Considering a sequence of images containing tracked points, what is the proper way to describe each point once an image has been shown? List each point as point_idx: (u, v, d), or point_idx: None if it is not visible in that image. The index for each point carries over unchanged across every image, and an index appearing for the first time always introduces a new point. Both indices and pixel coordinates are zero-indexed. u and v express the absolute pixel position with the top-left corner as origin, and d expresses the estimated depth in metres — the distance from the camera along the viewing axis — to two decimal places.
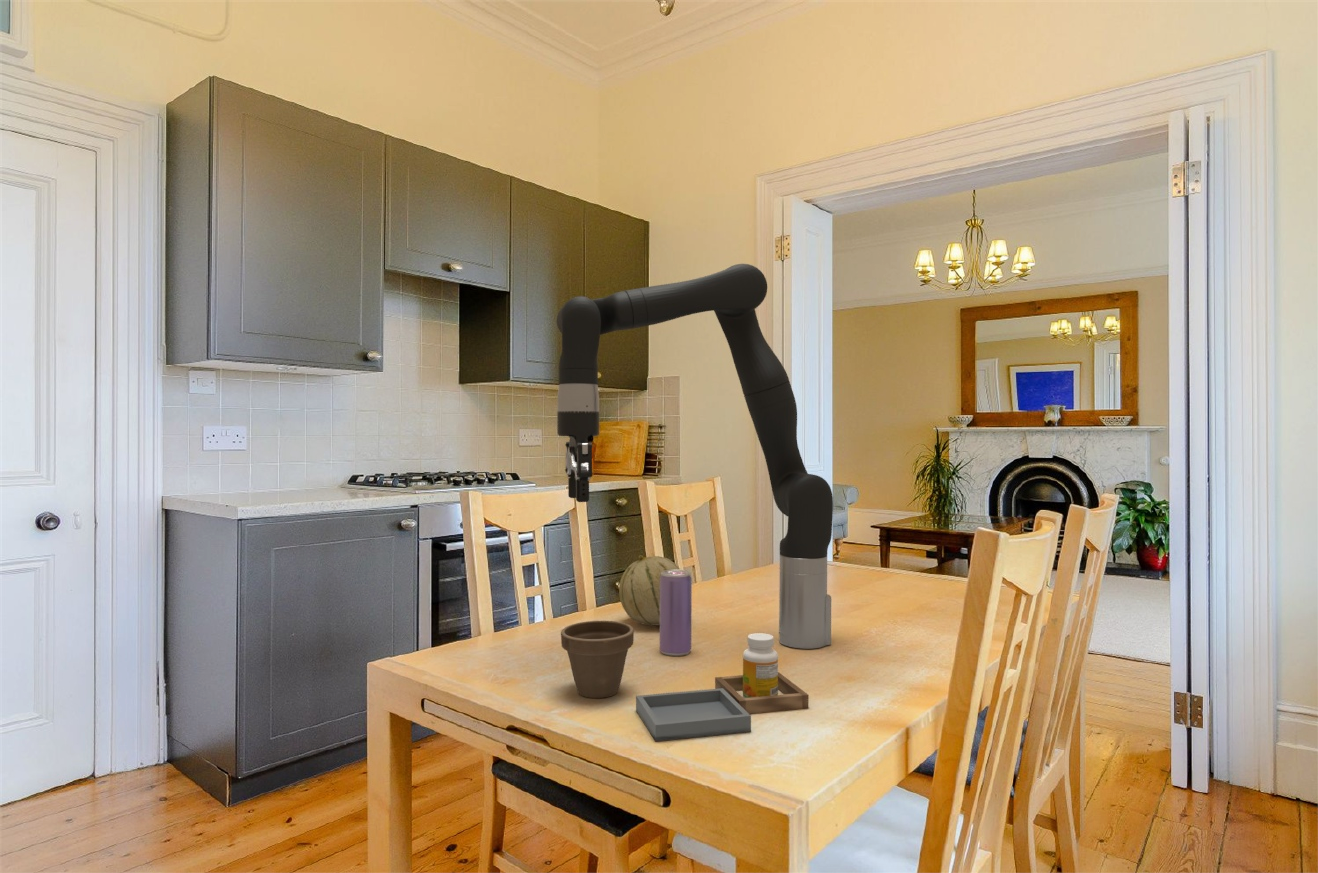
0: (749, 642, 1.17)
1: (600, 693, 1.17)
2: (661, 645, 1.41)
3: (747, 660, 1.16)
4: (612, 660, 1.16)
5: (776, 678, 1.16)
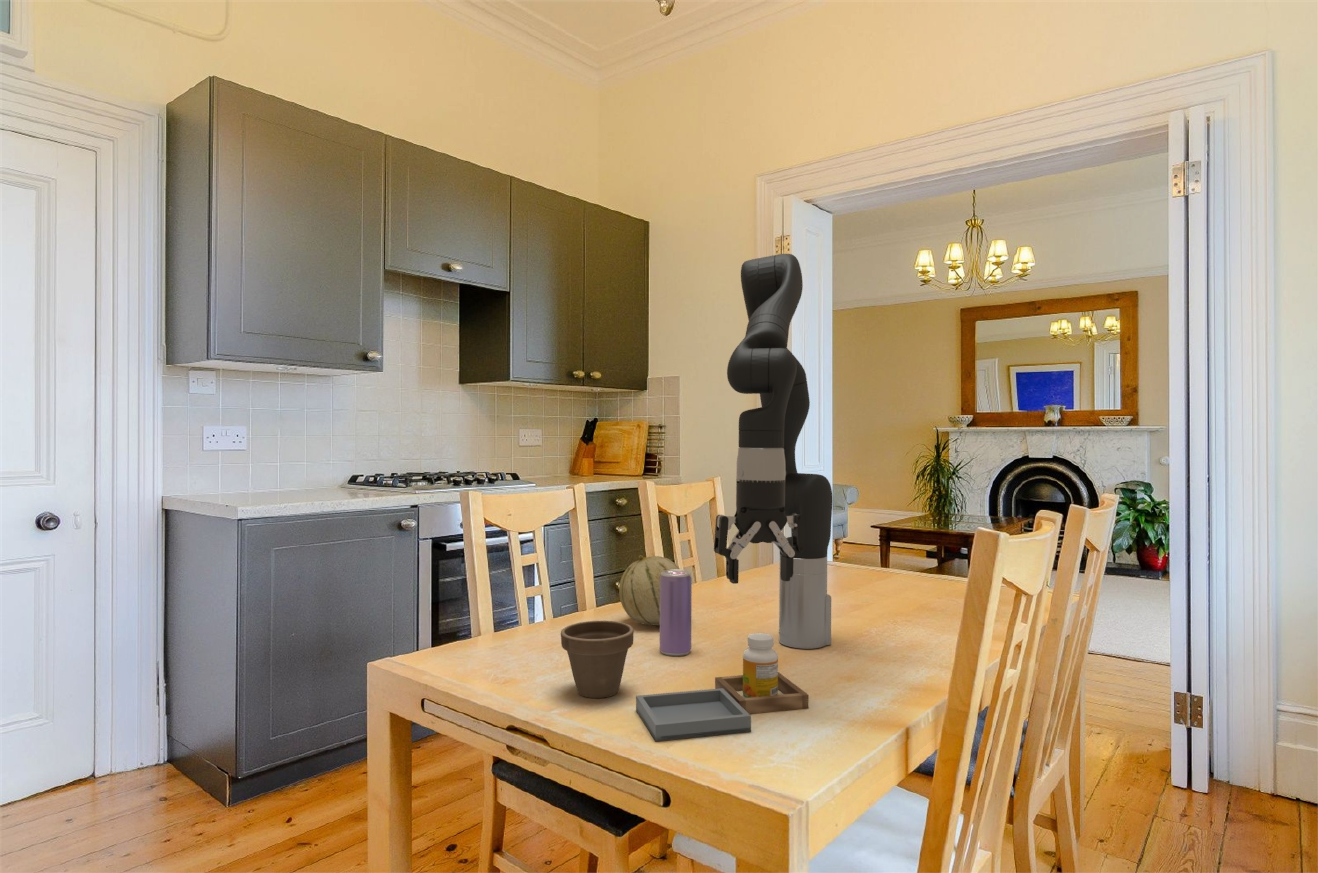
0: (749, 642, 1.17)
1: (600, 693, 1.17)
2: (661, 645, 1.41)
3: (747, 660, 1.16)
4: (611, 660, 1.16)
5: (776, 678, 1.16)
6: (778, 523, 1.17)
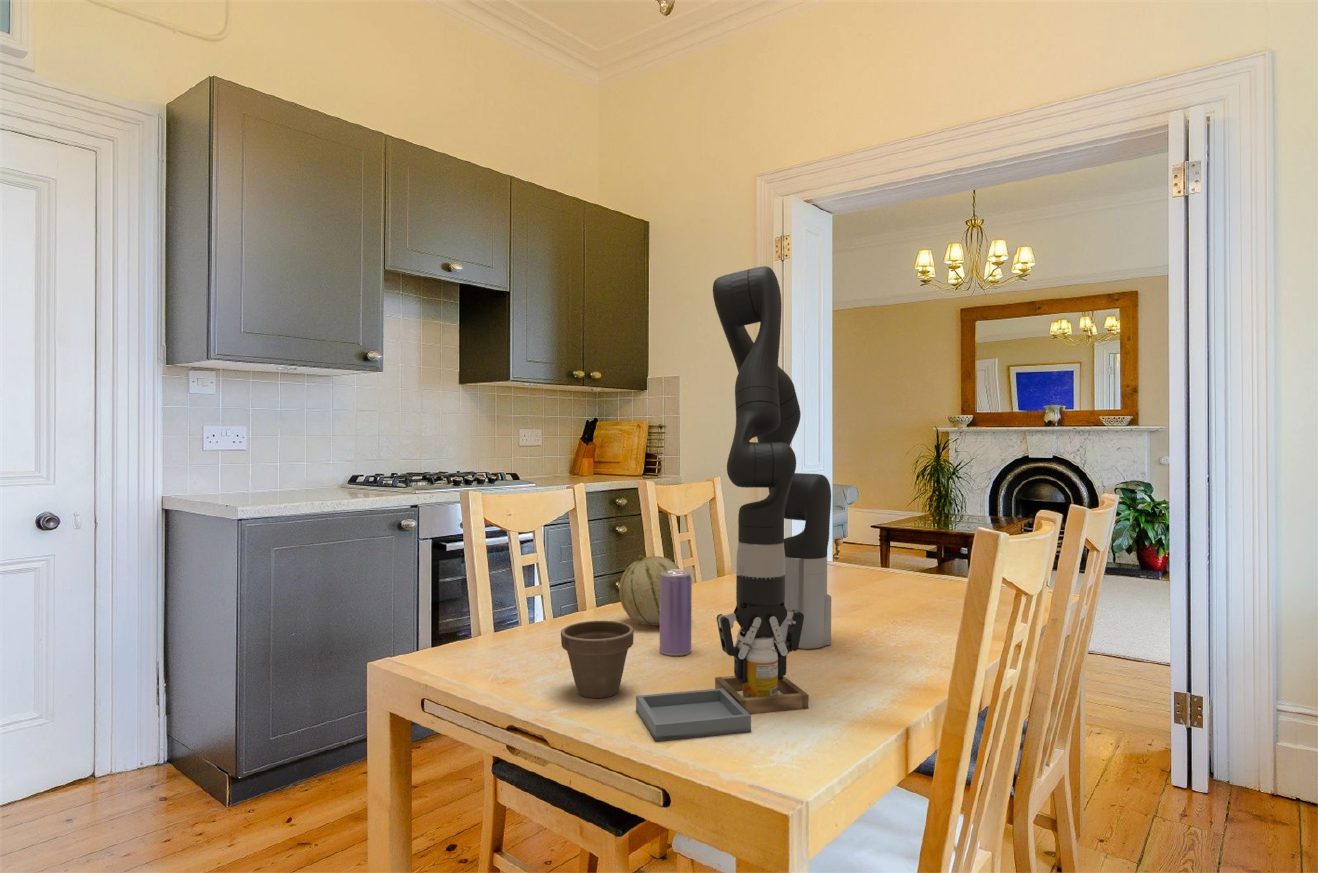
0: None
1: (600, 693, 1.17)
2: (661, 645, 1.41)
3: (747, 660, 1.16)
4: (611, 660, 1.16)
5: (776, 678, 1.16)
6: (778, 616, 1.17)
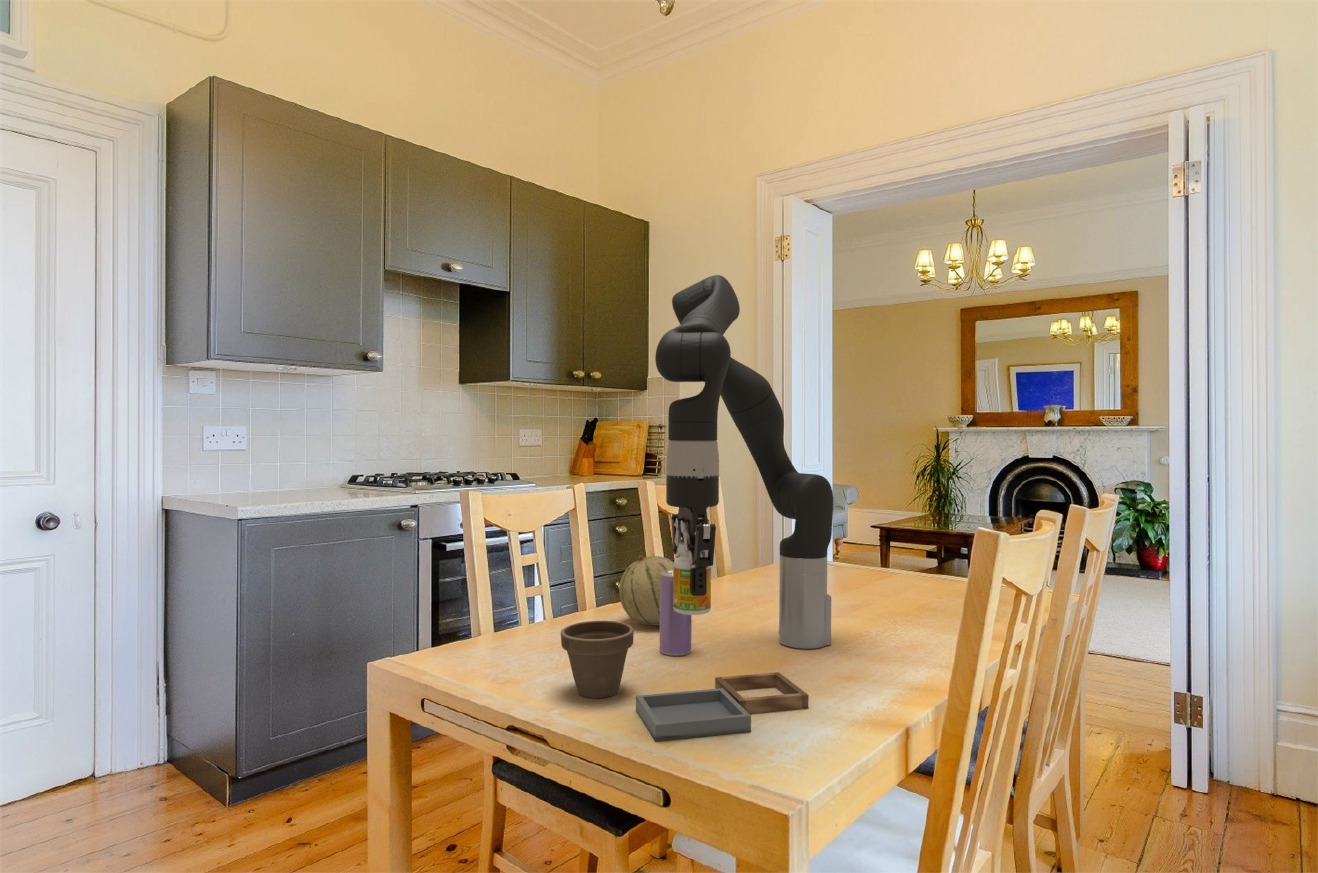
0: None
1: (600, 693, 1.17)
2: (661, 645, 1.41)
3: None
4: (611, 660, 1.16)
5: None
6: None
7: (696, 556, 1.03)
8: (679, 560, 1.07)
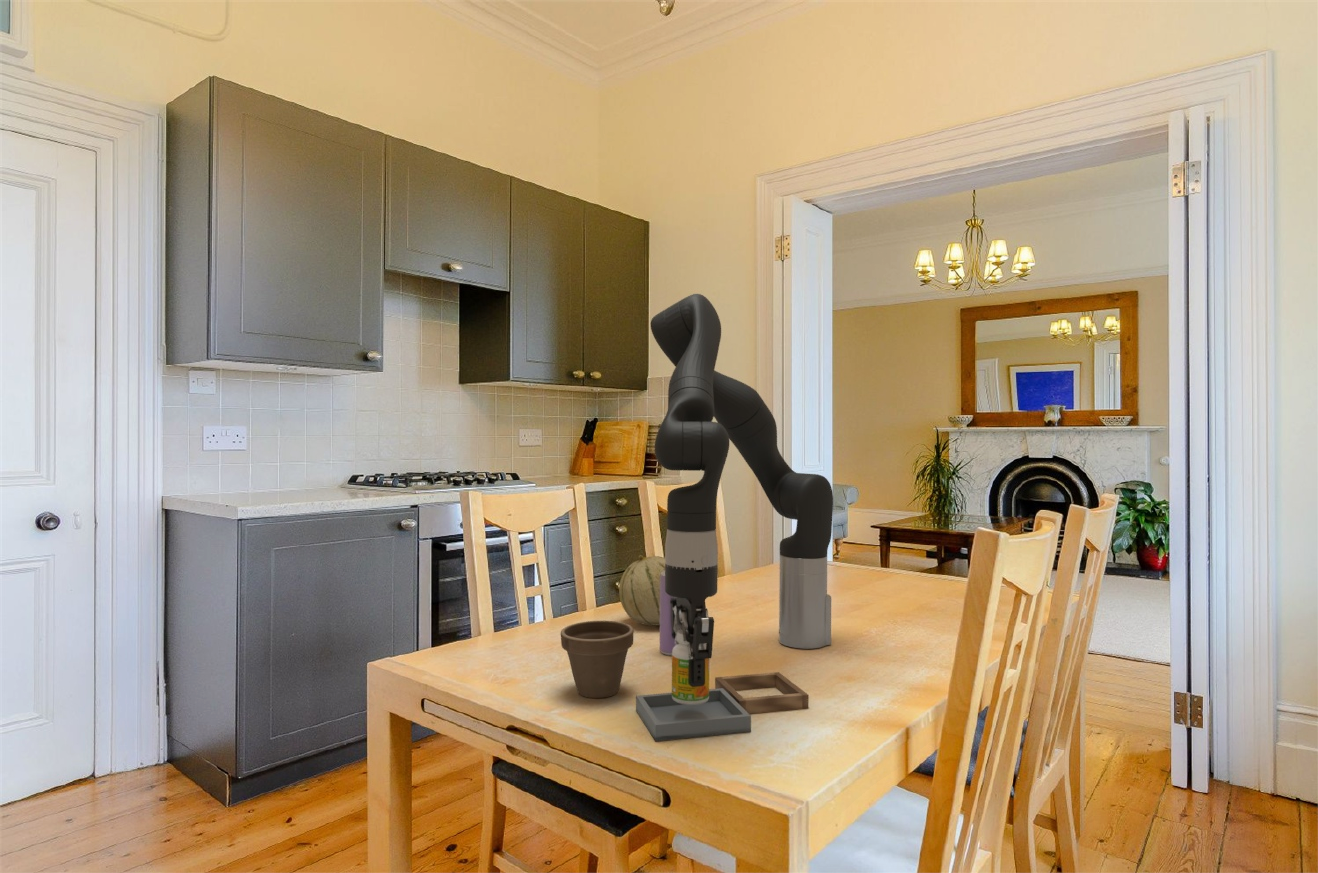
0: None
1: (600, 693, 1.17)
2: (661, 645, 1.41)
3: None
4: (611, 660, 1.16)
5: None
6: None
7: (694, 649, 1.03)
8: (677, 649, 1.07)
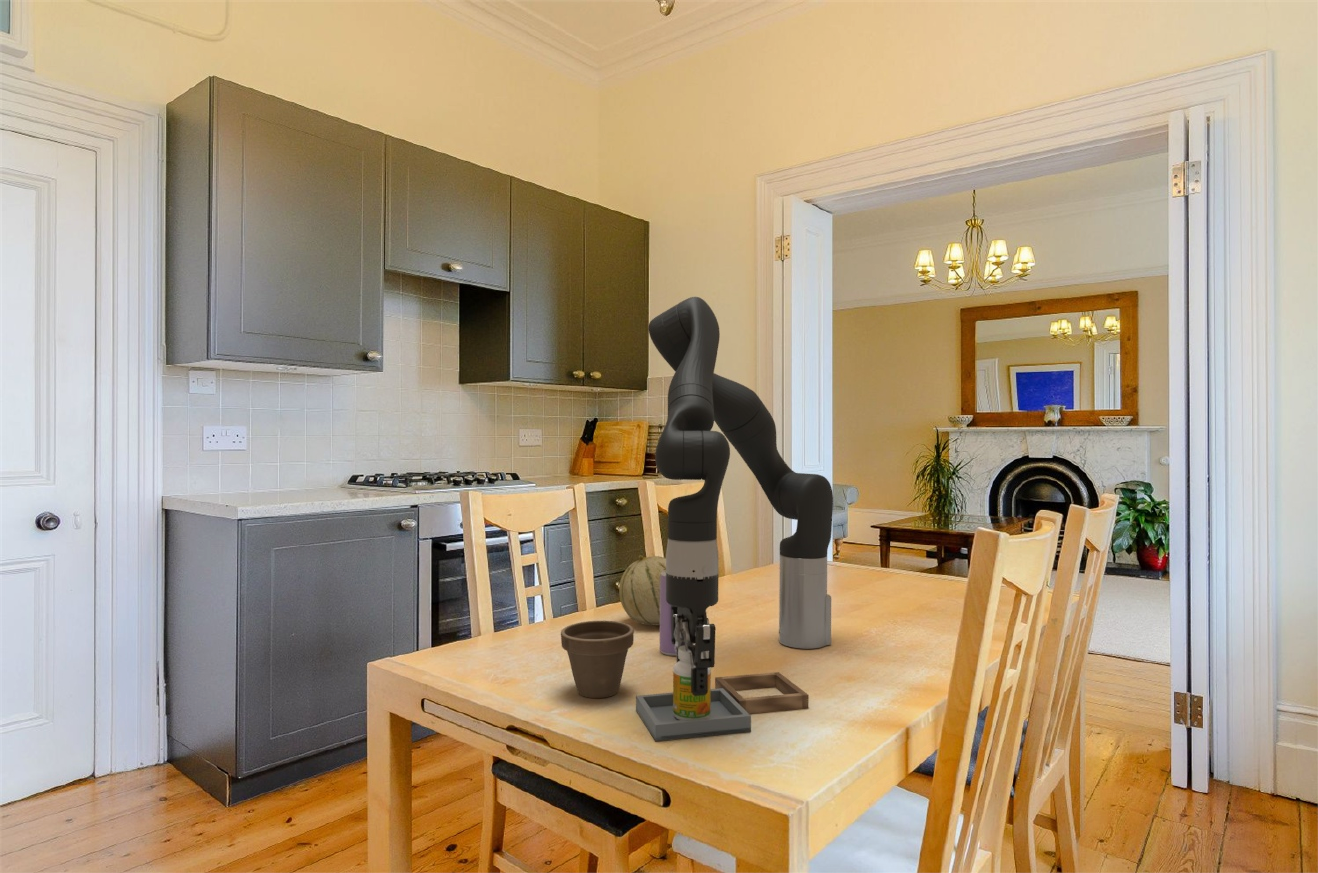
0: None
1: (600, 693, 1.17)
2: (661, 645, 1.41)
3: None
4: (611, 660, 1.16)
5: None
6: None
7: (697, 658, 1.02)
8: (679, 666, 1.07)
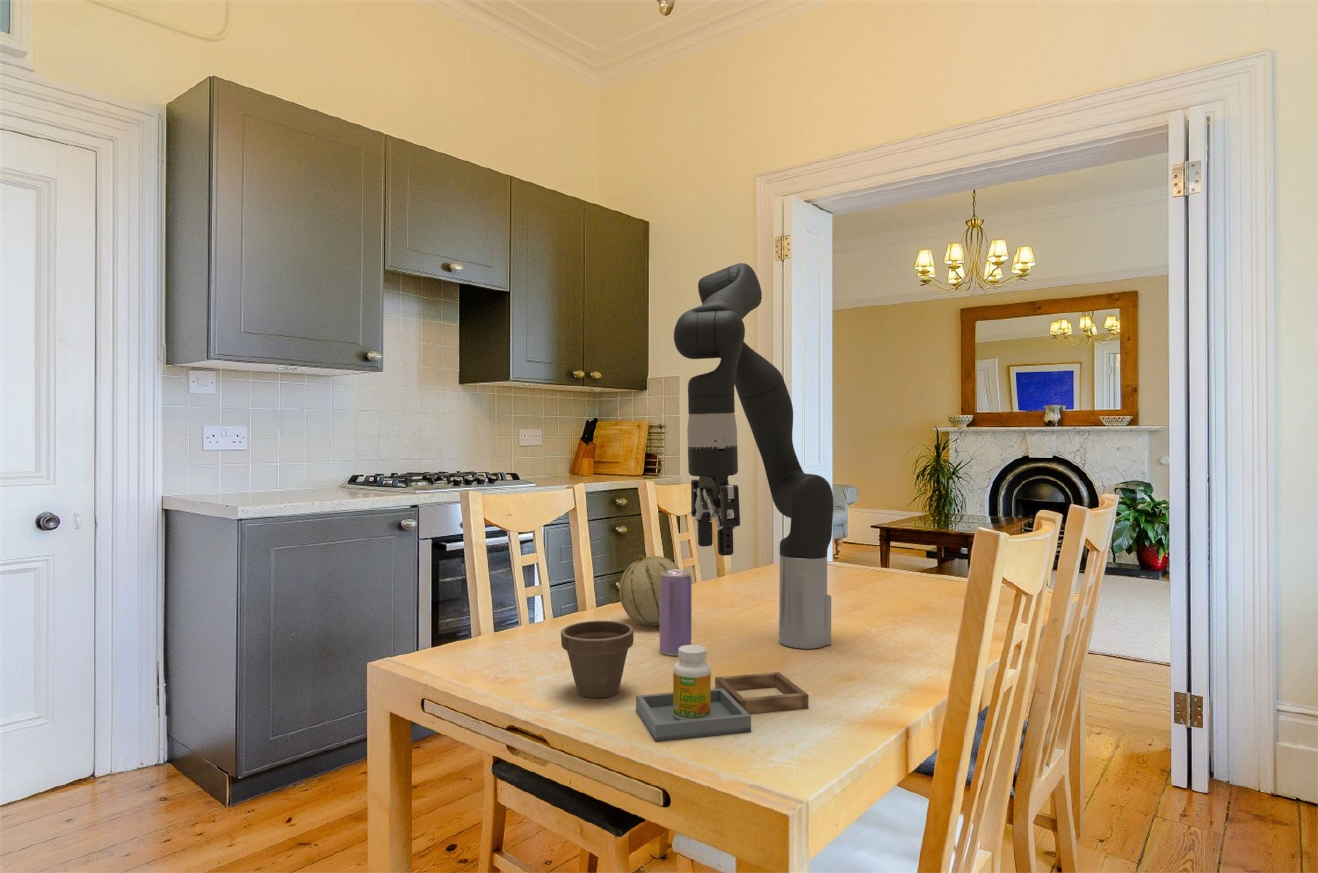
0: (698, 657, 1.07)
1: (600, 693, 1.17)
2: (661, 645, 1.41)
3: (703, 676, 1.06)
4: (611, 660, 1.16)
5: None
6: None
7: (723, 516, 1.08)
8: (679, 667, 1.07)
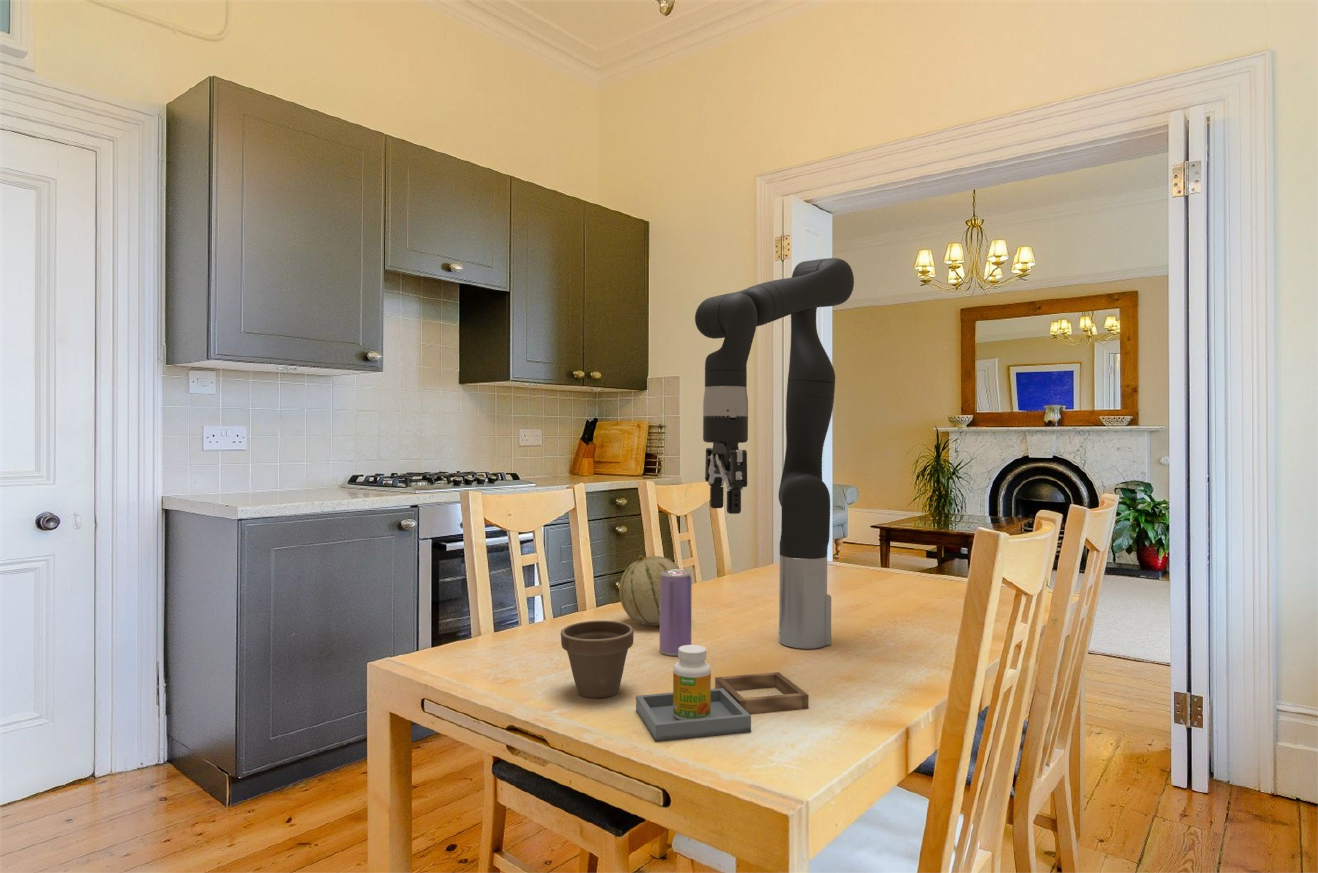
0: (698, 657, 1.07)
1: (600, 693, 1.17)
2: (661, 645, 1.41)
3: (703, 676, 1.06)
4: (611, 660, 1.16)
5: None
6: None
7: (732, 477, 1.21)
8: (679, 667, 1.07)
